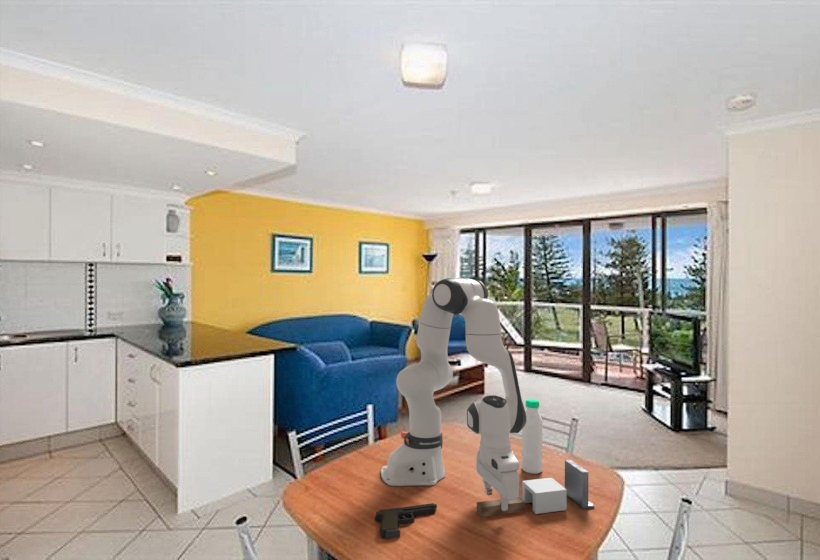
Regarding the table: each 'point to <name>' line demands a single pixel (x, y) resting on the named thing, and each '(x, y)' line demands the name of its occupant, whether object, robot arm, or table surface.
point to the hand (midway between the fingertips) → (496, 501)
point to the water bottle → (532, 439)
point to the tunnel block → (544, 495)
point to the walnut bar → (494, 507)
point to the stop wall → (577, 484)
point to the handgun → (400, 518)
